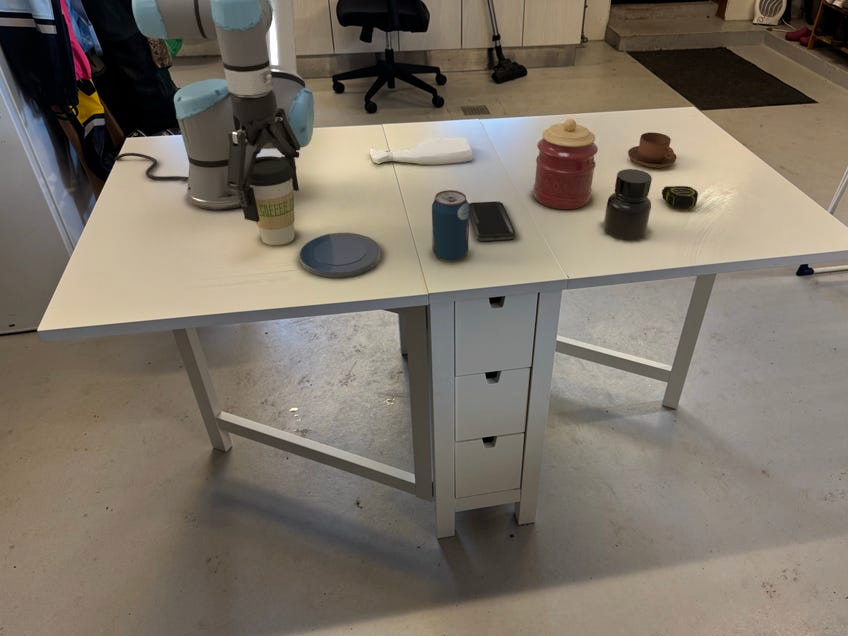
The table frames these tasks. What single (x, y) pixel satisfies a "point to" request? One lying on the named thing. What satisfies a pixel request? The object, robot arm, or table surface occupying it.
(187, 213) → the table surface
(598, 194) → the table surface
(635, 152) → the cup and saucer
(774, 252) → the table surface
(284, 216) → the coffee cup
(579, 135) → the kitchen canister
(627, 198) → the ink bottle
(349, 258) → the plate
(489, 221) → the phone
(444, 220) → the soda can
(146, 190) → the table surface
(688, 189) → the tape measure
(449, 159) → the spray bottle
